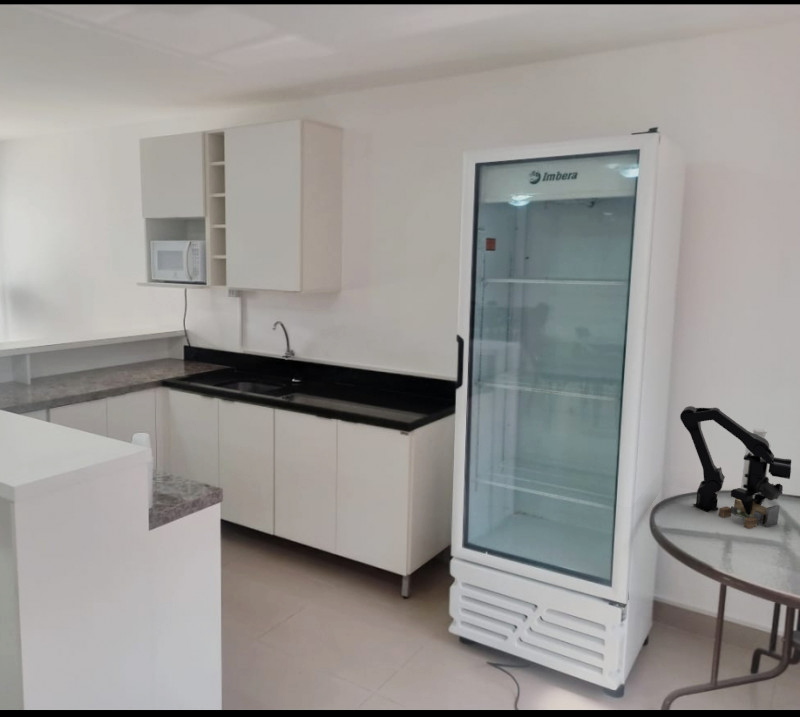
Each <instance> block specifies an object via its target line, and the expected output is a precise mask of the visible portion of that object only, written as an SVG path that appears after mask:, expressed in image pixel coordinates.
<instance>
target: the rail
mask: <svg viewBox="0 0 800 717" xmlns="http://www.w3.org/2000/svg"><path fill="white" fill-rule="evenodd" d="M733 503H734V504H733V506H734V507H736V508H738V510H740V511H742V512H745V513H746V511H745V509H744V506H743V504H742V502H741V500H739V499H736V498H734V502H733ZM767 508H768V507H766V506H764V505H762V504H761V505H759V504H756V503H754V502H753V506H752V510H751V513H750V515H752V516H754V511H758V512H760V513H763V514H765V518H766V510H767Z"/></svg>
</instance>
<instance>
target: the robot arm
mask: <svg viewBox="0 0 800 717" xmlns="http://www.w3.org/2000/svg"><path fill="white" fill-rule="evenodd" d="M679 417H680V418H679V419H680V421H681V423H682V424H683V426H684V428H685V429H686V430H687V432H688V433H689V434H690V437H691V440H692V443H693V445H694V448H695V451H696V453H697V456H698V458H699V461H700V464H701V468H702V473H703V480H702V481H701V482H700V483H699V486H698V488H697V491H696V501H695V503H693V504H692V507H695V508H697V509H699V510H701V511H704V512H706V513H709V512H713V511H717V510H719V508H720V507H718V492H720V491H721V490H722V488H723V485H724V483H725V482H724V480H725V478H726V476H725V475H724V473H723V471H722V467H721V466H720V467H717V466H716V465H715V463H714V461H713V458H712V455H711V453H710V450H709V447H708V444H707V442H706V439H705V436H704V434H703V431H702V425H701V422H706V421H714V423H716V424H718V425H719V426H721V427H722V428H723V429H725V430H726V431H727V432H729V433H730V434H731V435H733V436H734V437H735V438H737V439H738V440H739V441H740V442H741V443H742V444H743V445H744V446H745V449H746V448H747V449H748V450H749V451H750V452H751V453H752V454H753V455H752V454H751V453H750V452H749V453H748V454H747V455H745V454H744V456H743V461H744V460H749V466H748V473H747V474H745V477H747V483H746V484H745V485H743V487H744V488H746V489H747V490H744V489H741V487H738V488H733V489H731V490H730V497H732V498H734V499H739V500H741V502H742V504H743V506H744V509H745V511H746V514H748V515H750V513H751V510H752V506H753V502H754V503H756V504H759V505H761V506H762V504H763V503H764V501H765V500H768V501H773V500H778V499H779V497H780V495H783V485H782V484H781V483H776V484H774V483H771V482H770V480H769V479H770V478H769V477H768V476H767V477H766V470H767V471H768V473H769V475H770V476H772V477H775V478H781V479H787V480H790V478H791V473H792V467H791V466H792V459H789V458H780V457H775V455H774V453H773V451H772V450H771V448H770V449H769V443H770V441H769V440H768V439H767V438H766V439H764V438H762V437H760V436H758V435H756V434H754V432H750V431H749V430H748V429H746V428H744V426H742V425H741V424H740V423H737V421H735V420H734V419H732V418H731V417H730V416H728V415H727V414H726V413H724V412H722V410H721V409H720V408H719V407H695V406H692V405H690V406H689V405H688V406H686V407H684V408H683V409H682V411H681V413H680V416H679ZM767 464H768V469H767ZM762 502H763V503H762Z"/></svg>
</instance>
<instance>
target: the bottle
mask: <svg viewBox="0 0 800 717" xmlns="http://www.w3.org/2000/svg"><path fill="white" fill-rule="evenodd" d="M752 431H753V432H752V433H754V434H756V435H758V436H760V437H762V438H764V439H766V440H767V437H766V434H767V433H768V430H766V429H764V428H753V429H752ZM769 449H770V450H771V443H770V442H769ZM749 452H750V451H749V450H748V449H747V448H746V447H745V452H744V456H745V455H747V454H748V453H749ZM750 453H751V452H750ZM751 454H752V453H751ZM752 455H753V454H752ZM748 466H749V460H744V459H743V469H742V477H741V478H742V479H741V486H740V488H741V489H744V490H747V489H746V488H744V487H743V485H745V484H746V483H747V477H745V474H747V473H748ZM768 470H769V464H767V470H766V477H768V476H767V475H768Z"/></svg>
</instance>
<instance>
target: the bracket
mask: <svg viewBox="0 0 800 717" xmlns="http://www.w3.org/2000/svg"><path fill="white" fill-rule="evenodd" d="M730 508H732V509H731V514H732V515H736V516H739V517H741V518H743V519H744V520H745V519H746V518H749V517H754V518H756V519H757V525H759V526H760V527H765V528H769V527H772V526H775V525H776V526H777V525H778V521H779V514H780V505H778V504H776V505H772V506H768V507H767V510H766V518H765V514H763V513H760V512H758V511H754V516H752V515H748V514H746V513H745V512H742V511H740V510H738V508H736V507H734V505H732V506H730Z"/></svg>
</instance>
